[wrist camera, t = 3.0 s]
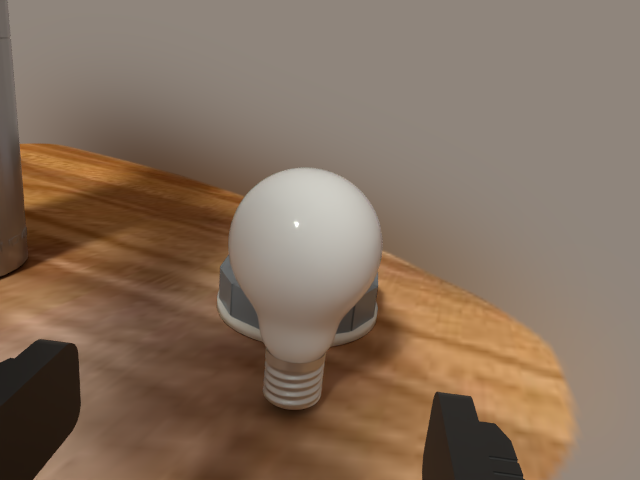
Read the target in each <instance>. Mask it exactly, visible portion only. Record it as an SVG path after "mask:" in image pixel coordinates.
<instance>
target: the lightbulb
mask: <svg viewBox="0 0 640 480" xmlns="http://www.w3.org/2000/svg"><path fill="white" fill-rule="evenodd" d="M228 252H229V259H230V264H231V267H232V271H233V273H234V276H235V278H236V280H237V282H238V284H239V286H240V287H241V289H242V291H243V292H244V294H245V295H246V297H247V298H248V300H249V301H250V303H251V304H252V306H253V307H254V309H255V311H256V313H257V316H258V321H259V328H260V334H261V338H262V340H263V343H264V345H265V347H266V350H265V359H266V361H265V370H264V375H265V377H264V380H263V381H264V385H263V394H264V396H265V398H266V399H267V400H268V401H269V402H270V403H272V404H273V405H275V406H277V407H280V408H283V409H289V410H300V409H305V408H308V407H311V406H313V405H314V404H316V403H317V402H318V401H319V399H320V397H321V391H322V383H323V374H324V370H323V369H324V366H325V358H326V352H327V351H328V349H329V348H330V346H331V345H332V343H333V341H334V338H335V335H336V332H337V329H338V326H339V324H340V322H341V320H342V319H343V318H344V316H345V315H346V314H347V313H348V312H349V311H350V310H351V309H352V308H353V307H354V306H355V305H356V304H357V303H358V302H359V300H360V299H361V298H362V297H363V296H364V295H365V293H366V292H367V291H368V289H369V288H370V286H371V284H372V283H373V281H374V279H375V277H376V274H377V272H378V269H379V266H380V262H381V257H382V233H381V228H380V224H379V221H378V217H377V215H376V212H375V211H374V208H373V207H372V205H371V203H370V202H369V200H368V199H367V198H366V196H365V195H364V194H363V193H362V192H361V191H360V190H359V189H358V188H357V187H356V186H355V185H354V184H352V183H351V182H350V181H348V180H347V179H345V178H343V177H341V176H339V175H337V174H335V173H332V172H330V171H326V170H322V169H317V168H293V169H289V170H285V171H281V172H278V173H275V174H273V175H271V176H269V177H267V178H266V179H264V180H262V181H261V182H260V183H258V184H257V185H256V186H255V187H253V188H252V189H251V190H250V191H249V192H248V193H247V195H246V196H245V197H244V198H243V200H242V201H241V203H240V204H239V206H238V208H237V210H236V212H235V214H234V217H233V219H232V222H231V226H230V231H229V237H228Z"/></svg>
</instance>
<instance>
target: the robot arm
mask: <svg viewBox="0 0 640 480" xmlns="http://www.w3.org/2000/svg"><path fill="white" fill-rule="evenodd" d="M27 258H28V246H27V227H26V222H25V210H24V194H23V182H22V169H21V157H20V145H19V133H18V121H17V109H16V97H15V84H14V72H13V60H12V49H11V39H10V25H9V13H8V1H7V0H0V276H2V275H5V274H7V273H9V272H11V271H13V270H15V269H17V268H18V267H20V266H21V265H22V264H24V262H25V261H26V260H27ZM80 406H81V399H80V379H79V359H78V350H77V347H76V346H75V344H73V343H66V342H59V341H51V340H43V339H39V340H37V341H35V342H34V343H33V344H31V345H30V346H29V347H28V348H27V349H25V350H24V351H23V352H22V353H21V354H19V355H18V356H17V357H16V358H15V359H14V358H9V359H7V360H5V361H3V362H0V480H33V479H34V478H35V476H36V475H37V474H38V473H39V471H40V470H41V469H42V468H43V466H44V465H45V464H46V463H47V462H48V460H49V459H50V458H51V457H52V455H53V454H54V453H55V452H56V450H57V449H58V448H59V447H60V446H61V444H62V443H63V442H64V441H65V439H66V438H67V437H68V436H69V434H70V433H71V432H72V430H73V429H74V427H75V425H76V422H77V420H78V417H79V413H80ZM517 460H518V459H517V457H516V454H515V451H514V448H513V445H512V443H511V441H510V439H509V438H508V437H507V436H506V435H505V434H504V433H503V432H502V431H501V429H500V428H499V427H498V426H497V425H496V424H494V423H487V422H479V420H478V417H477V413H476V410H475V406H474V403H473V400H472V397H471V396H464V395H457V394H449V393H441V392H436V393H435V395H434V399H433V404H432V409H431V415H430V420H429V426H428V431H427V437H426V442H425V448H424V454H423V465H422V480H525V479H523V473H522V470H521V468H520V465H519V463H517Z"/></svg>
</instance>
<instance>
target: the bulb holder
mask: <svg viewBox="0 0 640 480" xmlns="http://www.w3.org/2000/svg"><path fill="white" fill-rule="evenodd" d="M377 290H378V272H377V274H376V277H375V279H374V281H373V283H372V284H371V286H370V288H369V289H368V291H367V292H366V293H365V295H364V296H363V297H362V298H361V299H360V300H359V302H358V303H357V304H356V305H355V306H354V307H353V308H352V309H351V310H350V311H349V312H348V313H347V314H346V315H345V316H344V318H343V319H342V320H341V322H340V324H339V326H338V329H337V332H336V335H335V338H334V341H333V343H332V345H331V346H337V345H342V344H345V343H349V342H352V341H354V340H357V339H359V338H361V337H362V336H364V335H366V334H367V333H368V332H369V331H371V329H372V328H373V327H374V325H375V323H376V318H377V311H378V306H377V303H376V297H377ZM217 310H218V313H219V315H220V317H221V318H222V320H223V321H224V322H225V323H226V324H227V325H228V326H230V327H231V328H232V329H234V330H235V331H237V332H239V333H241V334H243V335H245V336H247V337H250V338H252V339H255V340H258V341H261V342H263V340H262V338H261V334H260V328H259V321H258V316H257V313H256V311H255V309H254V307H253V306H252V304H251V303H250V301H249V300H248V298H247V297H246V295H245V294H244V292H243V291H242V289H241V287H240V286H239V284H238V282H237V280H236V278H235V276H234V273H233V271H232V267H231V264H230V259H229V255H228V256H227V258H226V259H225V261H224V262H223V263H222V265H221V266H220V284H219V292H218V296H217ZM331 346H330V347H331Z"/></svg>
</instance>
